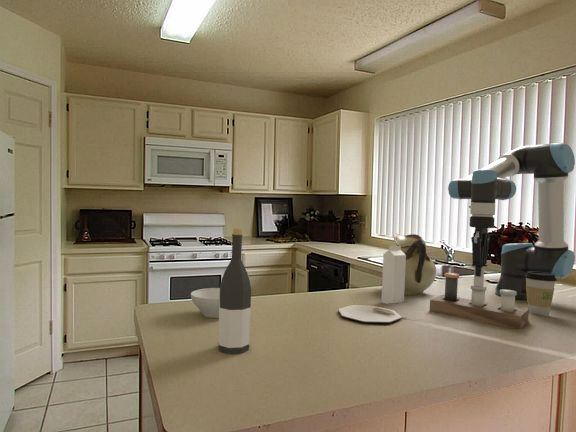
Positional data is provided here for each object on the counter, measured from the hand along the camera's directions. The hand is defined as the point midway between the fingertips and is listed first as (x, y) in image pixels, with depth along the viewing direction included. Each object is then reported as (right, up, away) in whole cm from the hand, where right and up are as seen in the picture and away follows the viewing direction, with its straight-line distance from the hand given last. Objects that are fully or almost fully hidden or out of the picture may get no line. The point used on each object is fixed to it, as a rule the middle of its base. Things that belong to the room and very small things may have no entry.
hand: (478, 285), depth 137 cm
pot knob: (-7, -6, +6) cm, 11 cm away
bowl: (-88, -9, -6) cm, 88 cm away
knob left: (+7, -10, -6) cm, 13 cm away
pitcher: (-11, -10, +39) cm, 42 cm away
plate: (-37, -11, -1) cm, 39 cm away
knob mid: (0, -9, 0) cm, 9 cm away
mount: (0, -11, 0) cm, 11 cm away
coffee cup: (+26, -12, +9) cm, 30 cm away
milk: (-24, -10, +19) cm, 32 cm away
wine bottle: (-78, -10, -35) cm, 86 cm away
